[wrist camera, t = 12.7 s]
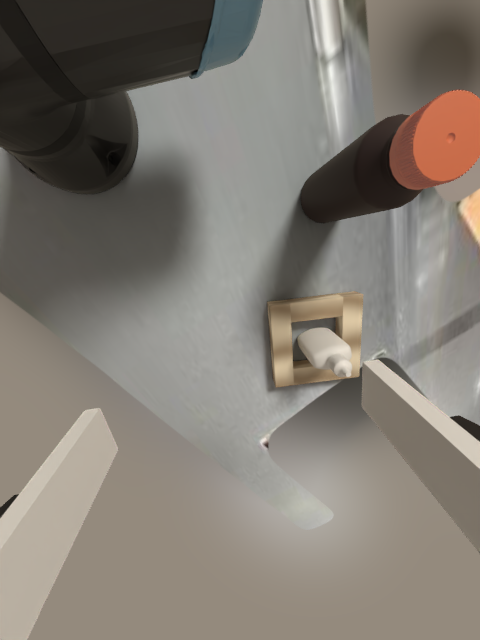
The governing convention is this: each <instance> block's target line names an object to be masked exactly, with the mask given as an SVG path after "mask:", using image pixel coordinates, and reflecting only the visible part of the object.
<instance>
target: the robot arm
mask: <svg viewBox="0 0 480 640" xmlns="http://www.w3.org/2000/svg"><path fill="white" fill-rule="evenodd" d="M262 3H263V0H0V147H2V148H4V149H5V150H6V151H8V152H9V153H10V154H12V155H14V157H15V158H16V159H17V160H18V161H19V162H20V163H21V164H22V165H23V166H24V167H25V168H26V169H28V170H29V171H30V172H31V173H32V174H34V175H35V176H37V177H38V178H40V179H41V180H43V181H45V182H47V183H49V184H51V185H53V186H55V187H58V188H61V189H64V190H67V191H70V192H74V193H79V194H95V193H100V192H103V191H106V190H108V189H110V188H112V187H114V186H115V185H117V184H118V183H119V182H120V181H121V180H122V179H123V178H124V177H125V176H126V175H127V173H128V172H129V170H130V168H131V166H132V164H133V162H134V159H135V156H136V152H137V147H138V125H137V119H136V115H135V111H134V108H133V105H132V102H131V100H130V98H129V96H128V94H127V92H126V91H129V90H133V89H137V88H141V87H145V86H149V85H154V84H158V83H162V82H166V81H170V80H174V79H179V78H183V77H187V76H189V77H190V78H191V79H193V78H197V77H199V76H200V75H201V74H202V73H203V72H204V71H207V70H210V69H214V68H217V67H220V66H223V65H227V64H230V63H232V62H234V61H236V60H237V59H239V58H240V57H241V56H242V55H243V53H244V52H245V50H246V49H247V47H248V45H249V43H250V41H251V40H252V38H253V35H254V33H255V30H256V27H257V24H258V20H259V17H260V12H261V8H262ZM362 374H363V377H362V408H363V409H364V410H365V411H366V412H367V414H368V415H369V416H370V418H371V419H372V420H373V421H374V423H375V424H376V425H377V426H378V428H379V429H380V430H381V431H382V432H383V434H384V435H385V436H386V437H387V439H388V440H389V441H390V442H391V444H392V445H393V446H394V447H395V449H396V450H397V451H398V452H399V454H400V455H401V456H402V457H403V459H404V460H405V461H406V462H407V464H408V465H409V466H410V467H411V469H412V470H413V471H414V472H415V474H416V475H417V476H418V477H419V479H420V480H421V481H422V482H423V483H424V485H425V486H426V487H427V488H428V490H429V491H430V492H431V493H432V495H433V496H434V497H435V498H436V500H437V501H438V502H439V503H440V504H441V506H442V507H443V508H444V510H445V511H446V512H447V513H448V514H449V516H450V517H451V518H452V520H453V521H454V522H455V523H456V524H457V526H458V527H459V528H460V529H461V531H462V532H463V533H464V534H465V536H466V537H467V538H468V539H469V541H470V542H471V543H472V544H473V545H474V547H475V548H476V549H477V551H478V552H479V553H480V426H479V425H477V424H475V423H473V422H471V421H469V420H467V419H465V418H463V417H461V416H454V417H448V416H447V415H446V414H445V413H443V412H442V411H441V410H440V409H438V408H437V407H436V406H435V405H434V404H432V403H431V402H430V401H429V400H427V399H426V398H425V397H424V396H422V395H421V394H420V393H419V392H417V391H416V390H415V389H414V388H412V387H411V386H410V385H409V384H408V383H406V382H405V381H404V380H403V379H401V378H400V377H399V376H398V375H396V374H395V373H394V372H393V371H391V370H390V369H389V368H388V367H386V366H385V365H384V364H383V363H382V362H380V361H379V360H372V361H366V362H363V373H362ZM117 452H118V447H117V445H116V443H115V440H114V438H113V436H112V433H111V431H110V429H109V427H108V424H107V422H106V420H105V418H104V415H103V413H102V411H101V409H100V408H95V409H89V410H85V411H84V412H83V413H82V414H81V416H80V417H79V418H78V419H77V421H76V422H75V423H74V425H73V426H72V427H71V428H70V430H69V431H68V432H67V434H66V435H65V436H64V438H63V439H62V440H61V441H60V443H59V444H58V445H57V446H56V448H55V449H54V450H53V451H52V453H51V454H50V455H49V457H48V458H47V459H46V461H45V462H44V463H43V465H42V466H41V467H40V468H39V469H38V471H37V472H36V473H35V475H34V476H33V477H32V479H31V480H30V481H29V482H28V484H27V485H26V486H25V487H24V489H23V490H22V491H21V493H20V494H18V495H14V496H13V497H12V498H11V499H9V500H8V501H7V502H6V503H5V504H4V505H3V506H2V507H0V640H27V639H28V637H29V635H30V632H31V630H32V628H33V626H34V624H35V622H36V620H37V618H38V616H39V614H40V611H41V609H42V607H43V605H44V603H45V601H46V599H47V597H48V595H49V593H50V591H51V589H52V587H53V585H54V583H55V580H56V578H57V576H58V574H59V572H60V570H61V568H62V566H63V564H64V562H65V560H66V558H67V555H68V553H69V551H70V549H71V547H72V545H73V543H74V541H75V539H76V537H77V534H78V533H79V531H80V529H81V526H82V524H83V522H84V520H85V518H86V516H87V514H88V512H89V510H90V508H91V506H92V503H93V501H94V499H95V497H96V495H97V493H98V491H99V489H100V487H101V485H102V483H103V481H104V479H105V477H106V474H107V472H108V470H109V468H110V466H111V464H112V462H113V460H114V458H115V456H116V454H117Z"/></svg>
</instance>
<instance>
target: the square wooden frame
mask: <svg viewBox="0 0 480 640" xmlns="http://www.w3.org/2000/svg"><path fill="white" fill-rule="evenodd" d="M267 305H268V318H269V332H270V345H271V358H272V372H273V381H274V383H275V386H276V387H283V386H291V385H299V384H307V383H314V382H322V381H330V380H338V379H345V378H353V377H359V368H360V348H361V328H362V309H363V294H360V293H358V292H355V291H353V292H345V293H337V294H328V295H320V296H312V297H303V298H295V299H287V300H278V301H270V302H267ZM332 317H336V327H335V334H336V335H337V336H338V337H340V338H341V339H342V340H343V341H344V342H346V343H347V344H348V345H349V346H350V348H351V353H352V357H351V359H350V360H349V361H350V362H351V364H352V371H351V376H350V377H346V376H345V377H338V376H336V375H335V374H334V373H333V371H332V370H331V369H330V370H324V369H318V368H315V367H314V366H313V365H312V364H311V363H310V361H309V360H300V361H293V354H292V332H291V322H299V321H307V320H315V319H324V318H332Z"/></svg>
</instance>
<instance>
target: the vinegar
mask: <svg viewBox="0 0 480 640" xmlns="http://www.w3.org/2000/svg"><path fill="white" fill-rule="evenodd" d="M479 155H480V99H479V98H478V97H476V96H475V95H474V94H473V93H471V92H466V91H463V90H461V91H460V90H458V91H457V90H455V91H453V90H452V91H451V92H449V91H448V92H447V93H444V94H441V95H440V96H438V97H437V98H435V99H433V100H432V101H431V102H429V103H428V104H426V105H425V106H423V107H422V108H421V109H419V110H418V111H416V112H415V113H413V114H412V115H411V116H410V115H403V114H400V115H396V116H392V117H387V118H385V119H384V120H382V121H381V122H379V123H377V124H376V125H374V126H373V127H371V128H370V129H369V130H368V131H366V132H365V133H364V134H363V135H361V136H360V137H359V138H358V139H356V140H355V141H354V142H353V143H351V144H350V145H349V146H347V147H346V148H345V149H344V150H342V151H341V152H340V153H339V154H337V155H336V156H335V157H334V158H332V159H331V160H330V161H329V162H327V163H326V164H325V165H323V166H322V167H321V168H320V169H318V170H317V171H316V172H315V173H313V174H312V175H311V176H310V177H309V178H308V180H307V181H306V182H305V184H304V186H303V189H302V193H301V206H302V209H303V211H304V213H305V214H306V215H307V216H308V218H309V219H311V220H313V221H315V222H317V223H327V222H332V221H337V220H342V219H347V218H351V217H356V216H361V215H366V214H371V213H376V212H380V211H385V210H390V209H394V208H398V207H401V206H403V205H405V204H406V203H408V202H410V201H412V200H413V199H414V198H415V197H416V196H417V195H418V194H419V193H420V192H421V191H422V190H423V189H425V188H429V187H433V186H436V185H440V184H444V183H447V182H451V181H453V180H455V179H457V178H459V177H460V176H462V175H463V174H464V173H466V171H468V170H469V168H471V167H472V165H474V163H475V162H476V161H477V159H478V158H479Z"/></svg>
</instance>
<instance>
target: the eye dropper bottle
mask: <svg viewBox="0 0 480 640" xmlns="http://www.w3.org/2000/svg"><path fill="white" fill-rule="evenodd" d="M297 340H298V345H299V348H300V349H301V350H302V352H303V353H304V355H305V356H306V357H307V359H308V360H309V361H310V363H311V364H312V365H313V366H314V367H315V368H318V369H324V370H330V369H331V370H332V371H333V373H334V374H335V375H336V376H338V377H345V376H346V377H350V376H351V371H352V364H351V362H350V361H349V360H350V359H351V357H352V353H351V348H350V346H349V345H348V344H347V343H346V342H344V341H343V340H342V339H341V338H340V337H338V336H337V335H336V334H335V333H334V332H332V331H331V330H330V329H328V328H313V329H309V330H307V331H305V332H303V333H302V334H300V335H299V336H298V338H297Z"/></svg>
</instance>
